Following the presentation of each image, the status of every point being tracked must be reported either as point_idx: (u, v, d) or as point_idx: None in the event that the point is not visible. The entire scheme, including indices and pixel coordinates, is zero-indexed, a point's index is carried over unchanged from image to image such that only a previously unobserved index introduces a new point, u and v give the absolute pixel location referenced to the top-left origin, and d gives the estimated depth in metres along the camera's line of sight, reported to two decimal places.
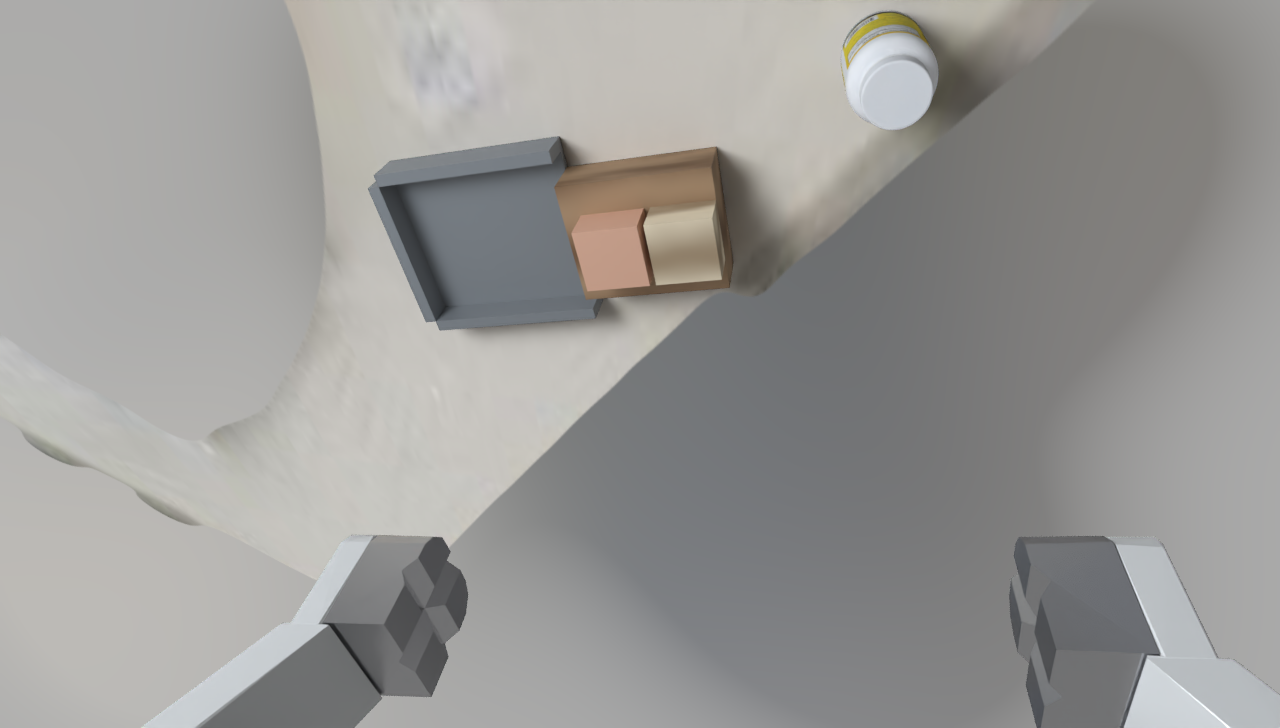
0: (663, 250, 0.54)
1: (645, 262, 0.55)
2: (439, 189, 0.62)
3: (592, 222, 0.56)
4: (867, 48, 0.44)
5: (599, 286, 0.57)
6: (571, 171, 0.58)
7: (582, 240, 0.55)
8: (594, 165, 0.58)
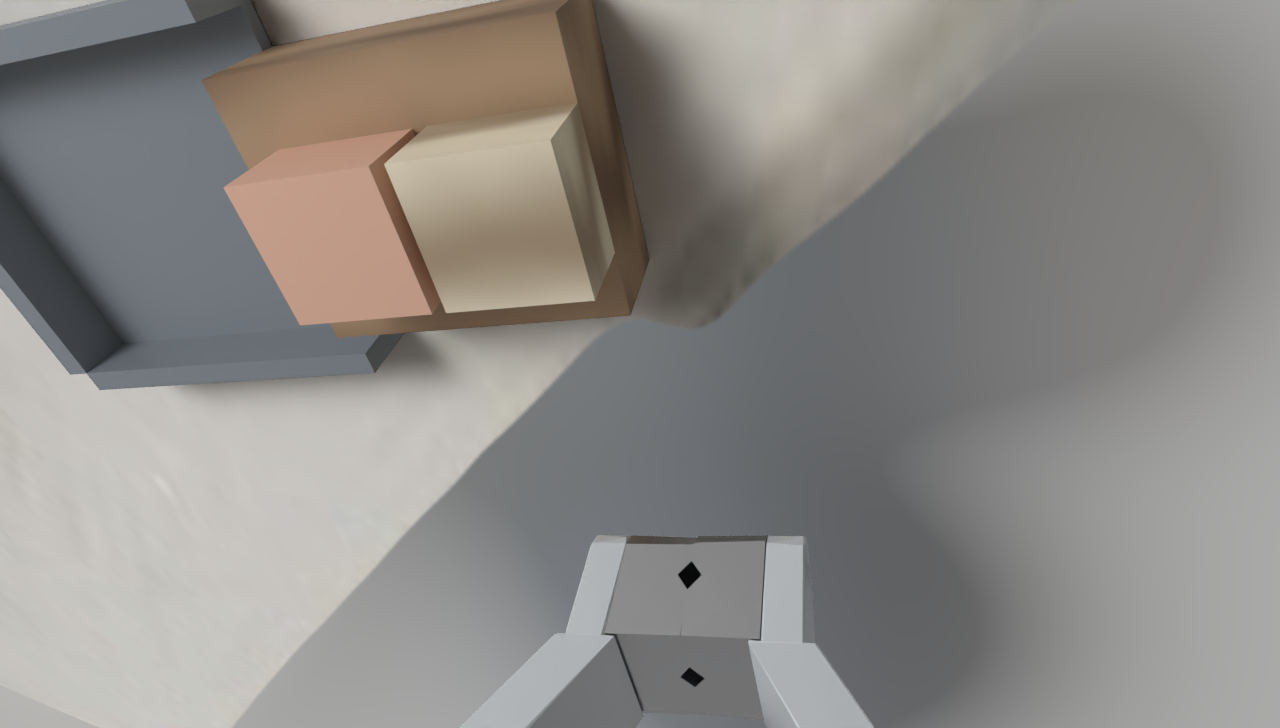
0: (445, 229, 0.22)
1: (413, 258, 0.23)
2: (27, 104, 0.29)
3: (285, 163, 0.23)
4: None
5: (322, 314, 0.25)
6: (268, 52, 0.26)
7: (253, 205, 0.22)
8: (321, 39, 0.26)
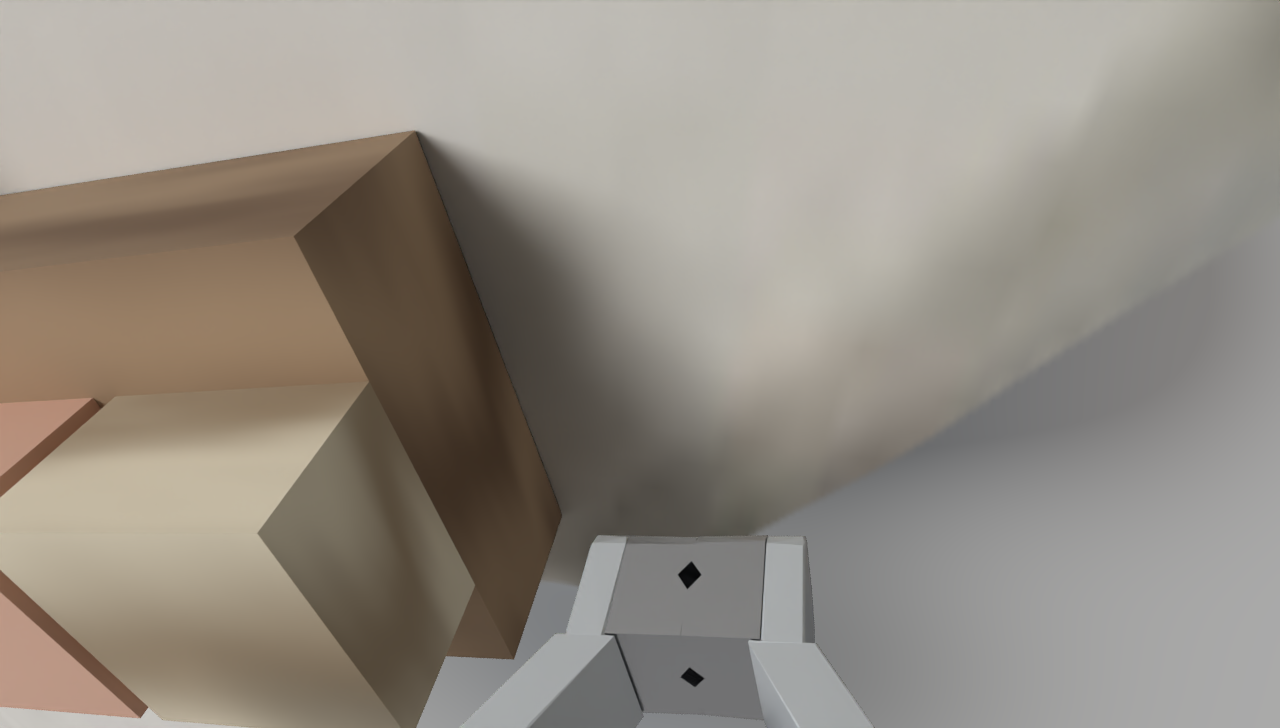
0: (113, 626, 0.11)
1: None
2: None
3: None
4: None
5: None
6: None
7: None
8: None
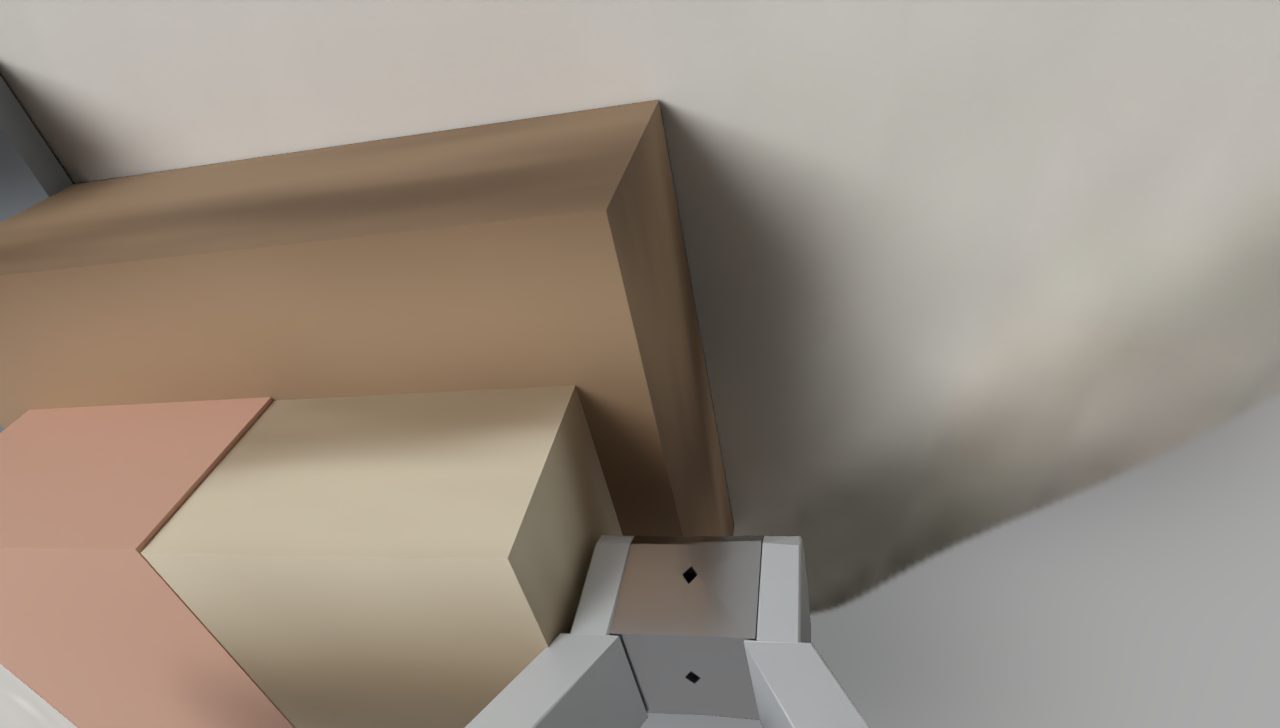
0: (293, 655, 0.10)
1: None
2: None
3: (9, 471, 0.11)
4: None
5: (113, 722, 0.13)
6: (50, 207, 0.14)
7: None
8: (149, 182, 0.14)
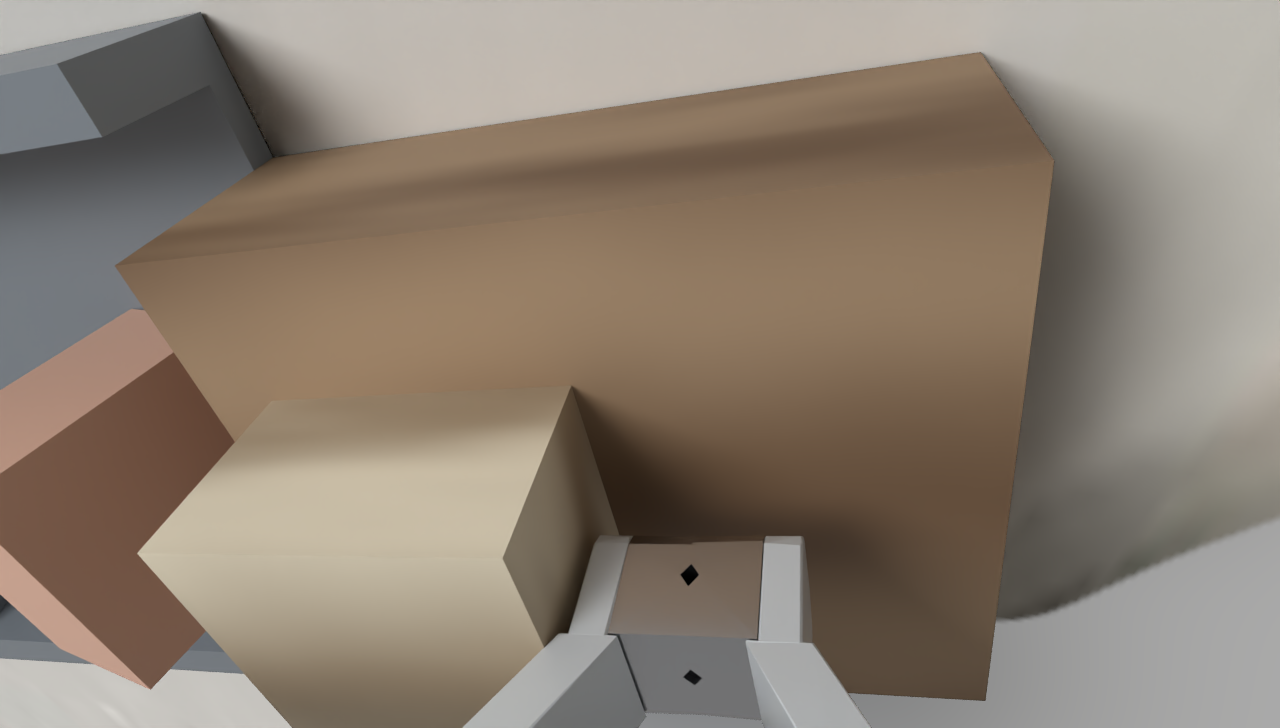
0: (290, 656, 0.10)
1: (4, 593, 0.14)
2: None
3: (117, 349, 0.14)
4: None
5: None
6: (266, 180, 0.12)
7: None
8: (374, 153, 0.13)
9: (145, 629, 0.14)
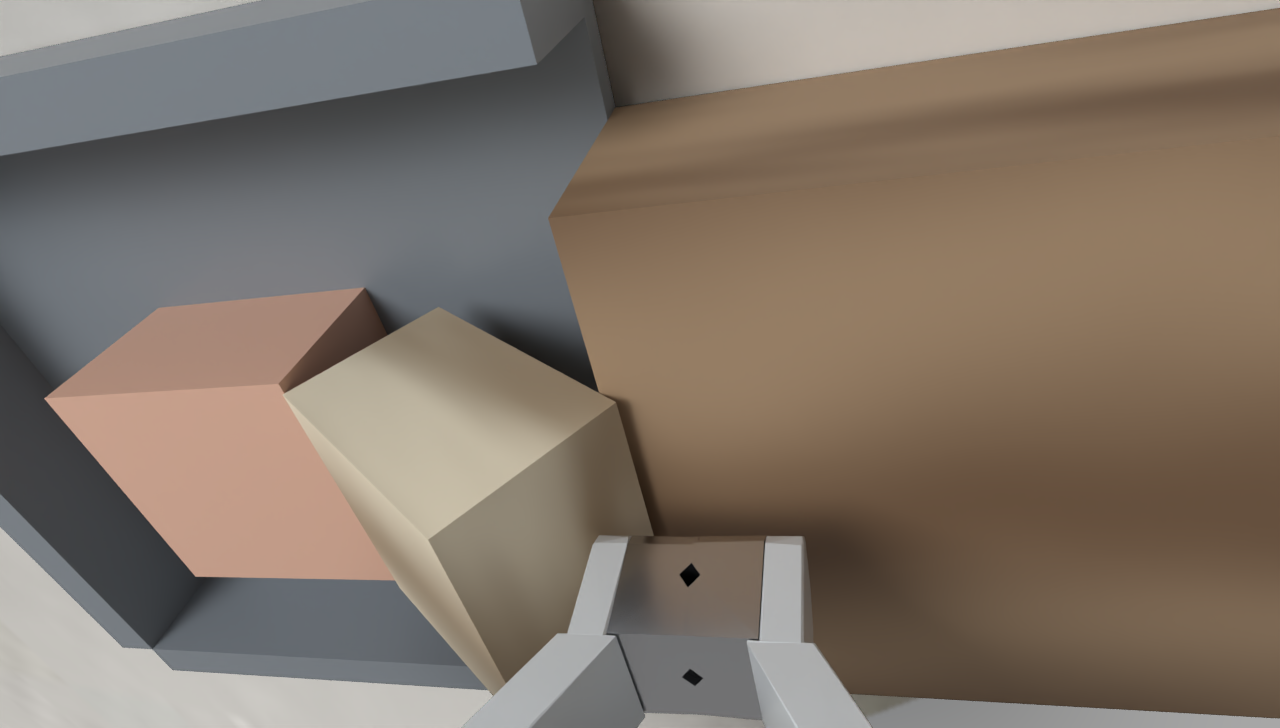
0: (364, 514, 0.13)
1: None
2: (62, 212, 0.15)
3: (267, 334, 0.14)
4: None
5: None
6: (644, 128, 0.11)
7: None
8: (767, 97, 0.11)
9: (191, 544, 0.15)
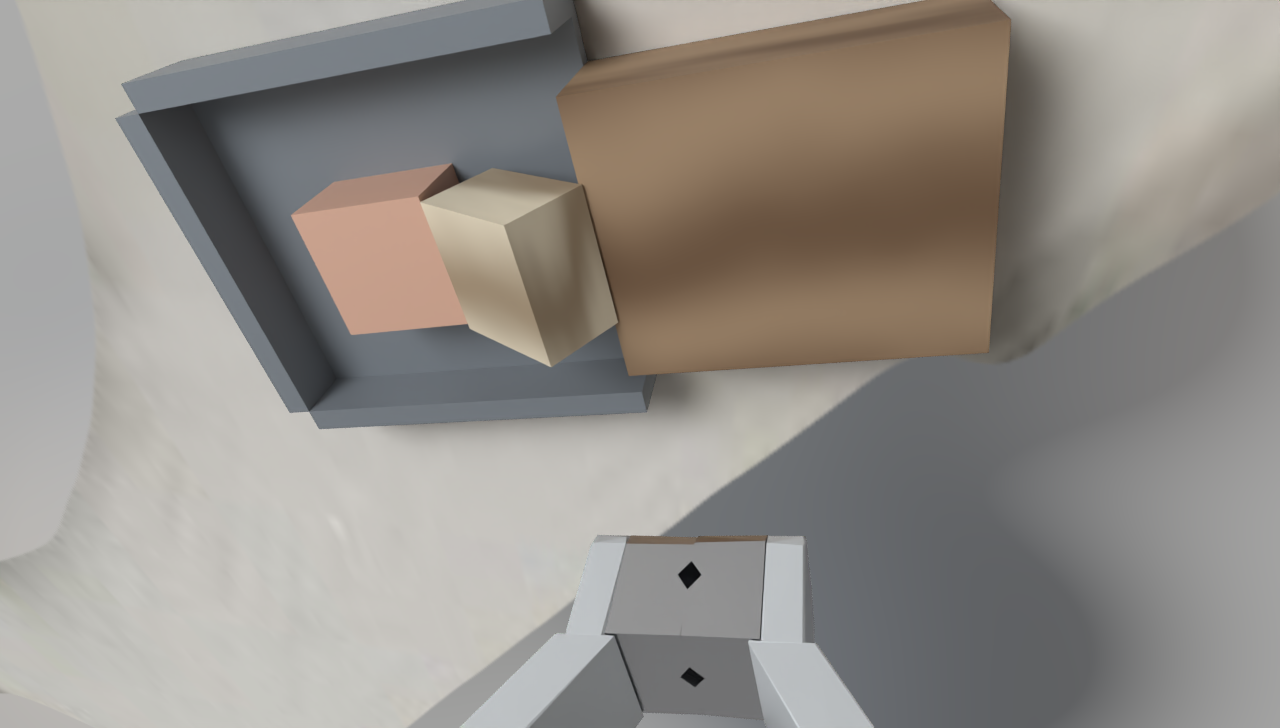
0: (459, 265, 0.25)
1: None
2: (294, 125, 0.27)
3: (404, 183, 0.26)
4: None
5: None
6: (599, 67, 0.23)
7: None
8: (656, 53, 0.23)
9: (353, 310, 0.28)
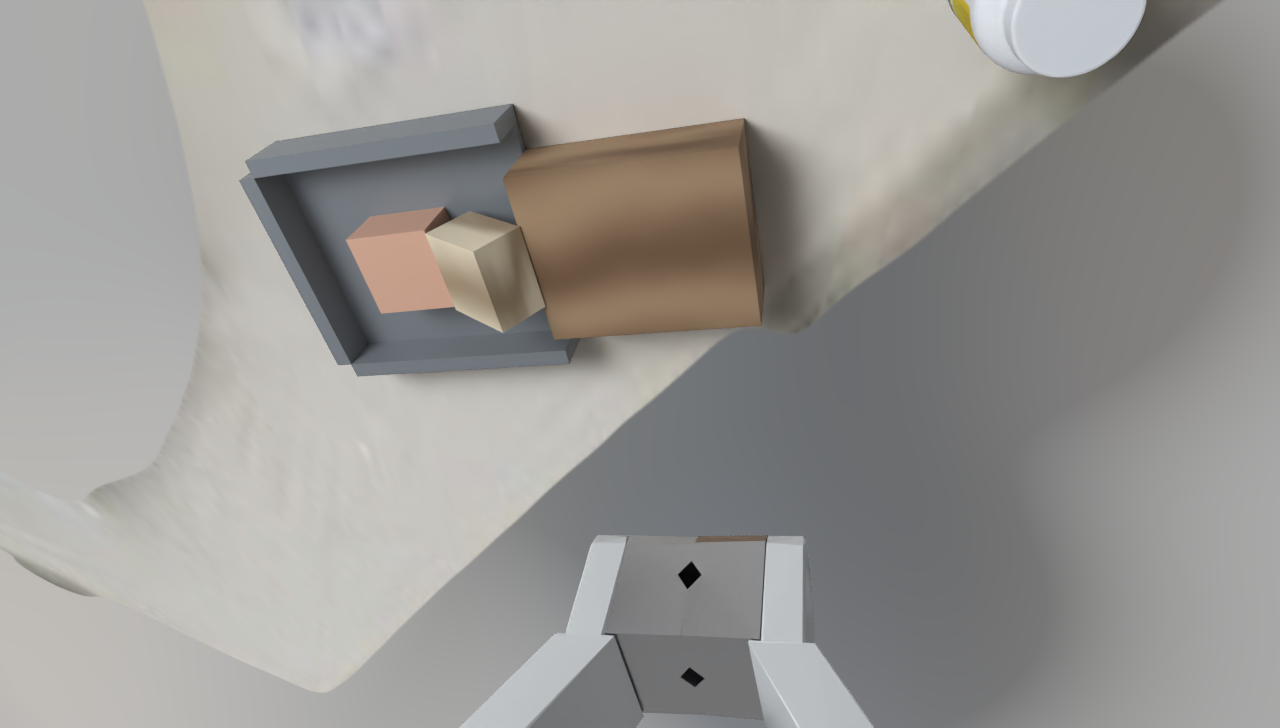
0: (448, 271, 0.41)
1: None
2: (346, 182, 0.43)
3: (415, 220, 0.42)
4: None
5: None
6: (530, 156, 0.40)
7: None
8: (564, 147, 0.40)
9: (382, 298, 0.44)
